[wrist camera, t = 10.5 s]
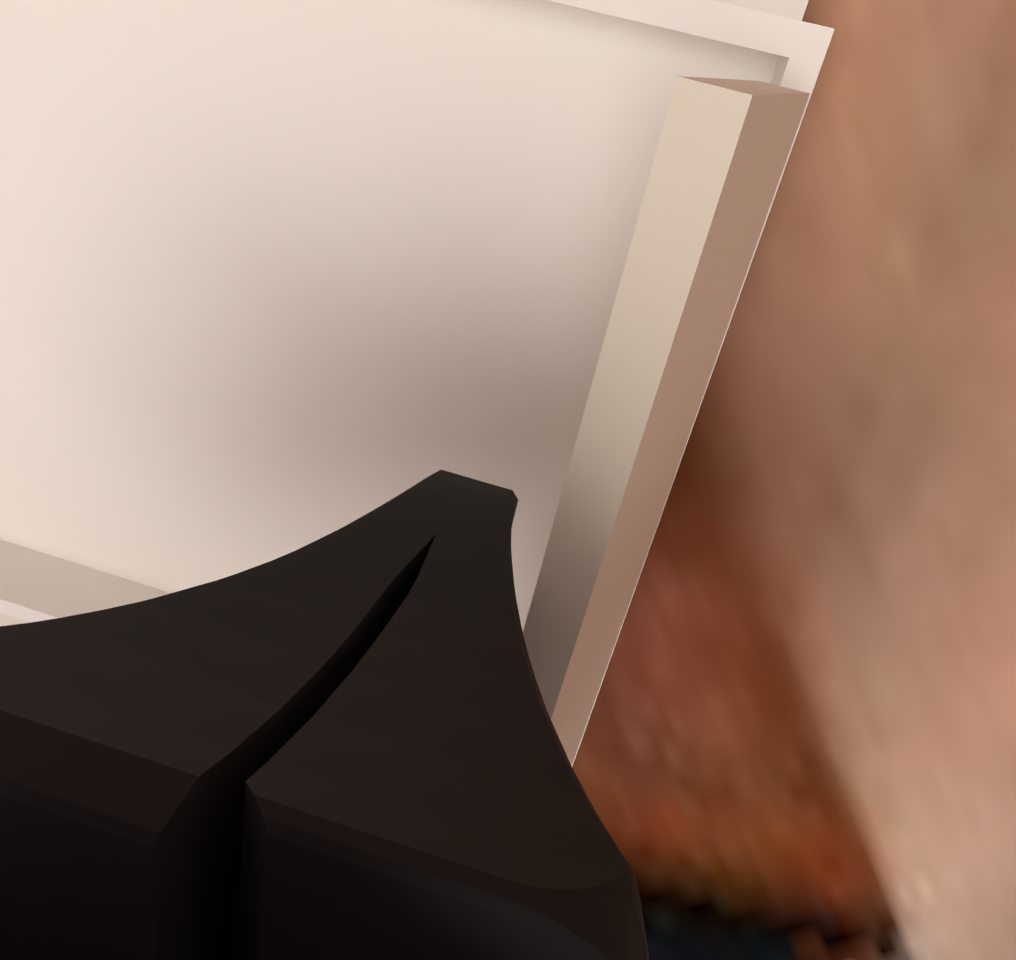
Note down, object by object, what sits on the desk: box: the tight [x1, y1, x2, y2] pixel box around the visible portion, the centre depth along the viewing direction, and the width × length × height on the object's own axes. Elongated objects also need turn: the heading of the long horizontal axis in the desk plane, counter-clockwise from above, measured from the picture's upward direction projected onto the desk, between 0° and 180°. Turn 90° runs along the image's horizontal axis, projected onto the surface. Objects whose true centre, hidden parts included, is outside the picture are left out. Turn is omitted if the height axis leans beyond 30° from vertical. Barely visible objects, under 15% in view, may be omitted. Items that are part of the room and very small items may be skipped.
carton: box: [0, 0, 835, 766], centre depth 15 cm, size 20×16×2 cm
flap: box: [523, 76, 810, 766], centre depth 11 cm, size 13×4×1 cm
